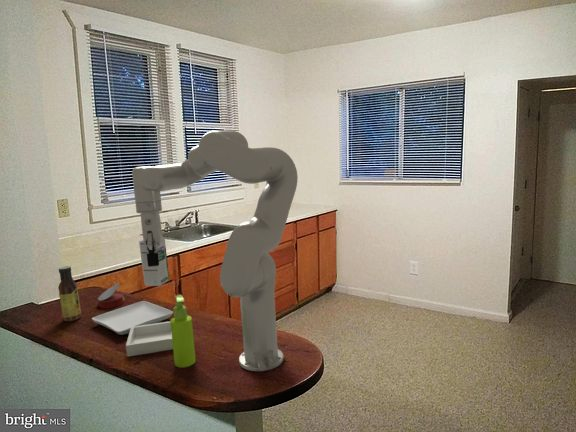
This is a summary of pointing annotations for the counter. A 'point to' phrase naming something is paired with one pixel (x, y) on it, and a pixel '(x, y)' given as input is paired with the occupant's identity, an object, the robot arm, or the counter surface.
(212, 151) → the robot arm
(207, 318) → the counter surface
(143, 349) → the tray
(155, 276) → the syrup box
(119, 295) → the canned food
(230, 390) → the counter surface
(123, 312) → the salad plate
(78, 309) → the sauce bottle
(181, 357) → the soap dispenser
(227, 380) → the counter surface
